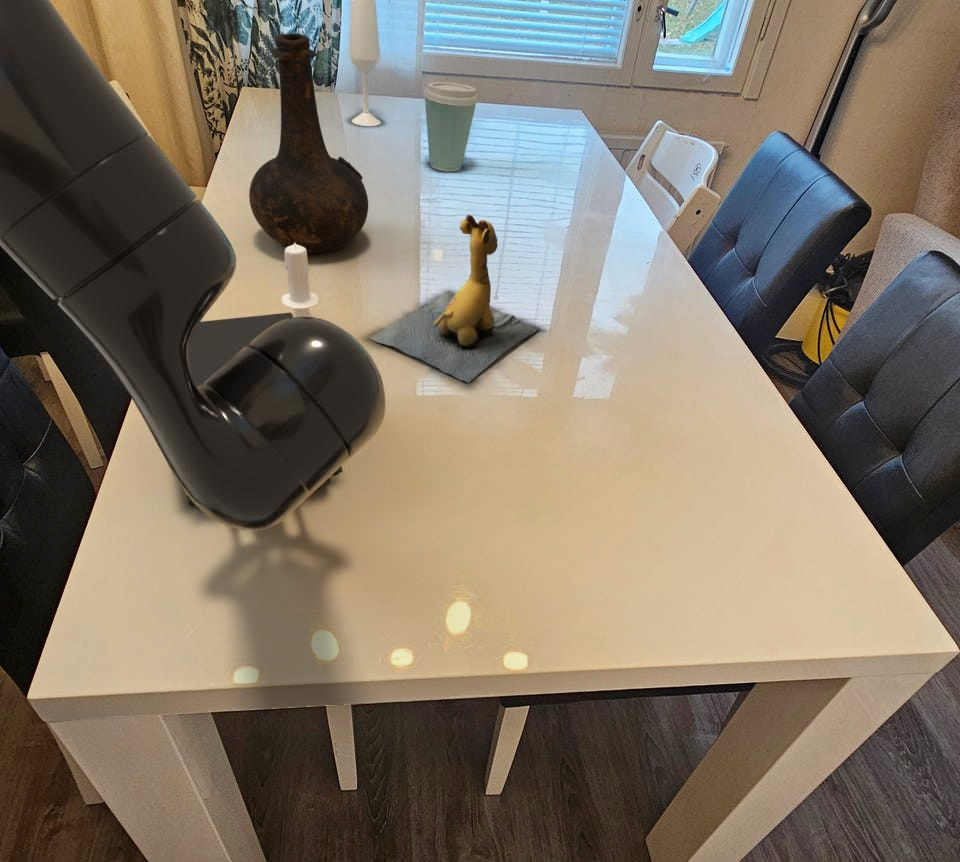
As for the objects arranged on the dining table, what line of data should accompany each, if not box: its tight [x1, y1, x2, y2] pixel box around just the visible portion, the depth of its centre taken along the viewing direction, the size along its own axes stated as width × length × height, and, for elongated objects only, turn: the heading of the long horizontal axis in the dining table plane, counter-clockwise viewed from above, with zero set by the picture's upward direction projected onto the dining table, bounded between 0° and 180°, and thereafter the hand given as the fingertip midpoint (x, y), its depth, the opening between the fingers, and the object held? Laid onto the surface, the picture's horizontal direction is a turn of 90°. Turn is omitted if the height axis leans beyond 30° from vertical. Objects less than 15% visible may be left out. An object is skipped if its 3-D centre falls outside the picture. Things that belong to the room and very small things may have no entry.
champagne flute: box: [348, 0, 382, 127], centre depth 154 cm, size 7×7×24 cm
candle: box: [280, 243, 320, 318], centre depth 89 cm, size 5×5×12 cm
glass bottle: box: [248, 32, 369, 254], centre depth 104 cm, size 18×18×28 cm
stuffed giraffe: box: [369, 214, 541, 384], centre depth 91 cm, size 16×18×16 cm
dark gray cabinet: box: [187, 311, 331, 506], centre depth 72 cm, size 16×14×11 cm
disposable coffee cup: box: [423, 81, 479, 173], centre depth 140 cm, size 11×11×15 cm
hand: (262, 479), depth 65 cm, fingers closed
